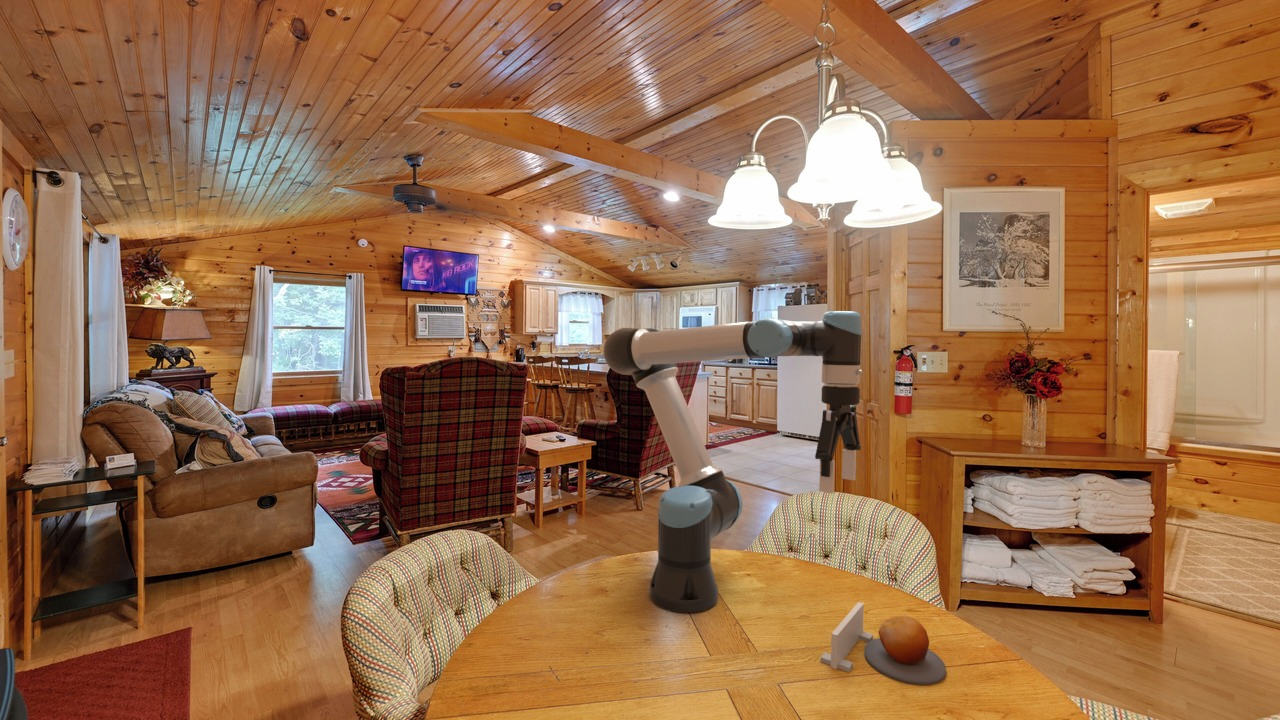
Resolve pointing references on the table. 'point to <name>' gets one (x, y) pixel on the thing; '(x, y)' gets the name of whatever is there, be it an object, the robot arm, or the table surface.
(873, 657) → the mat
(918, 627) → the fruit
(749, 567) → the table surface
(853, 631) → the wall
